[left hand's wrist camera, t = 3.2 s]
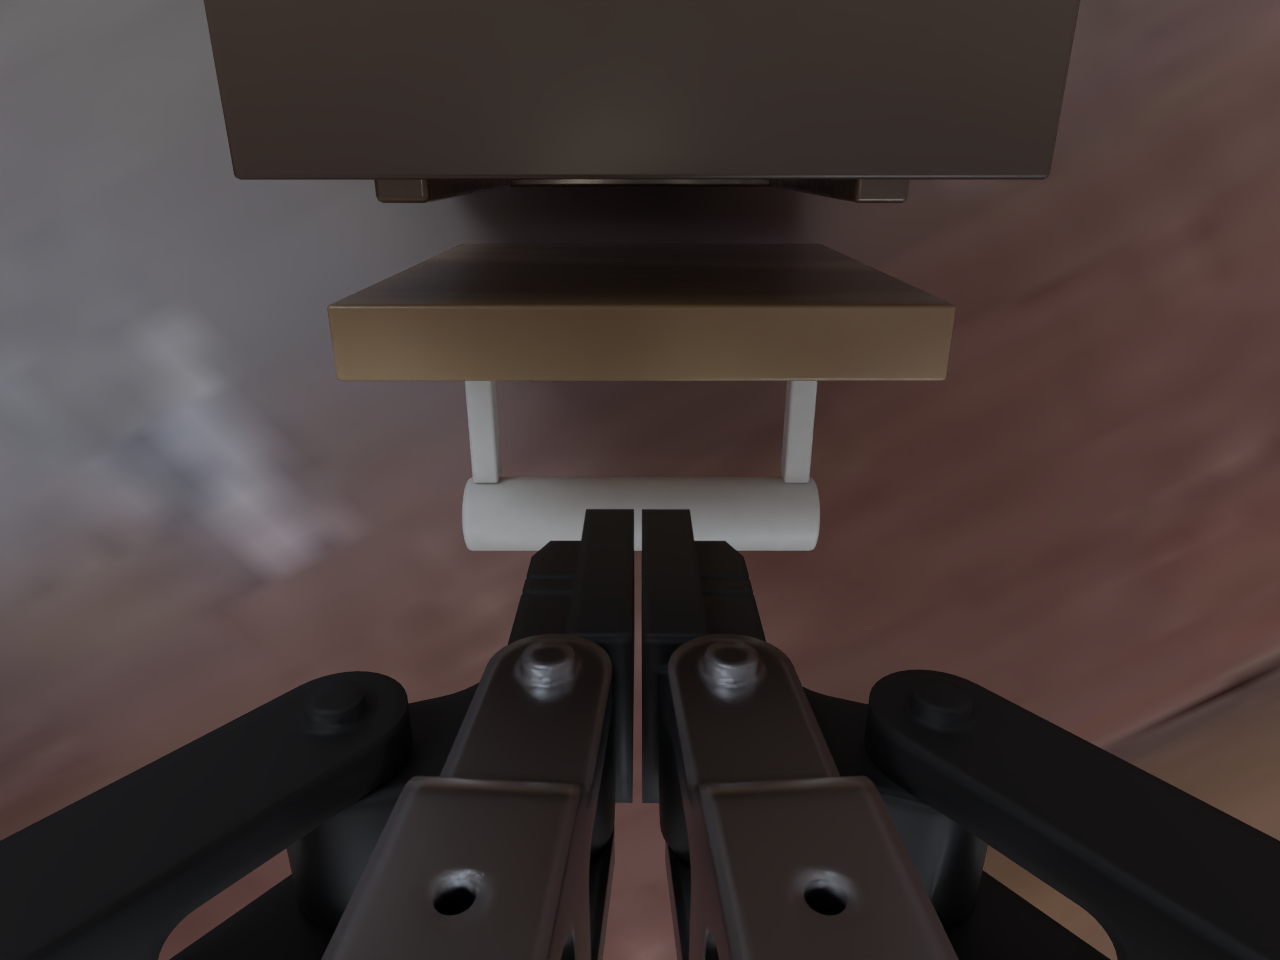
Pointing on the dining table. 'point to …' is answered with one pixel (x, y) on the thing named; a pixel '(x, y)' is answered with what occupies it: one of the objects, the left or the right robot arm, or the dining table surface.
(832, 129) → the cabinet
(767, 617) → the dining table surface
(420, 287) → the drawer
